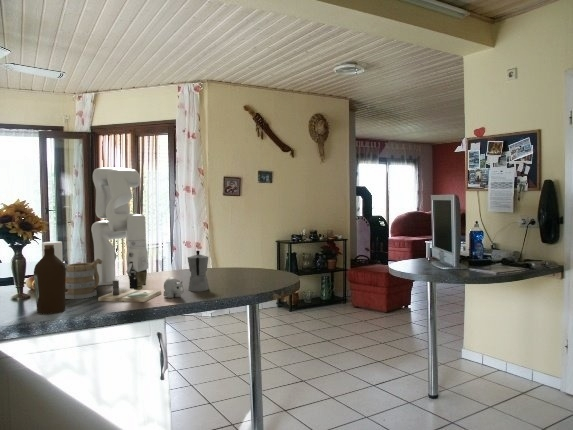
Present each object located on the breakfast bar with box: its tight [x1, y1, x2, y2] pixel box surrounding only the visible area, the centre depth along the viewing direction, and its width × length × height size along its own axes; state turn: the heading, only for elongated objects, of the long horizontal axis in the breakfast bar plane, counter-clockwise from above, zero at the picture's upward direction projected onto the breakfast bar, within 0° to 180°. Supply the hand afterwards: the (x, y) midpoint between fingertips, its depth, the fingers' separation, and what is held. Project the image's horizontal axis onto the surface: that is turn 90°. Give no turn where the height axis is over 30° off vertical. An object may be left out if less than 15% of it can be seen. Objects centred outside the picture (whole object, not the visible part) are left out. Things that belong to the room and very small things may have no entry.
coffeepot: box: [186, 250, 210, 293], centre depth 202 cm, size 15×9×18 cm, turn 10°
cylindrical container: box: [41, 241, 64, 263], centre depth 178 cm, size 7×7×25 cm
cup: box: [133, 269, 148, 290], centre depth 186 cm, size 8×7×8 cm
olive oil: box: [33, 245, 67, 315], centre depth 166 cm, size 11×11×25 cm
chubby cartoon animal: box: [163, 276, 185, 299], centre depth 186 cm, size 7×12×8 cm, turn 40°
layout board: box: [97, 279, 162, 303], centre depth 189 cm, size 20×16×8 cm
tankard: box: [65, 259, 102, 300], centre depth 197 cm, size 20×13×15 cm, turn 160°
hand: (137, 286), depth 186 cm, fingers closed on cup, 6 cm apart
